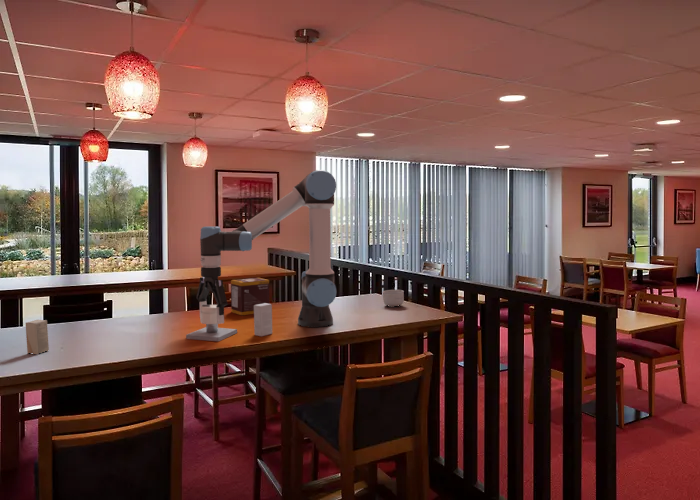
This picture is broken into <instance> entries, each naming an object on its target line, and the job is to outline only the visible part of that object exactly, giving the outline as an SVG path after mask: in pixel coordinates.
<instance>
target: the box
mask: <svg viewBox="0 0 700 500" xmlns="http://www.w3.org/2000/svg"><path fill="white" fill-rule="evenodd" d="M48 332H49V331H48V320H47V319H45V320H44V319H34V320H32V321H31V320H30V321H27V322H25V334H26V335H25V336H26V350H27V354H28V353H33V354H38V353H42V352H45V351H47V352H49V351H50V347H49V346H50V345H49V333H48ZM48 350H49V351H48ZM45 353H46V352H45ZM42 354H43V353H42Z"/></svg>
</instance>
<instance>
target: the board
mask: <svg viewBox="0 0 700 500" xmlns="http://www.w3.org/2000/svg"><path fill="white" fill-rule="evenodd" d="M237 333H238V329H237V328H225V327H218V332H217V333H206V326H205V327H203V328H199V329H198V330H194V331H191V332H189V333H187V334H185V339H187V340H196V341H197V340H198V341H209V342H211V341H212V342H220V341H222V340H224V339H227V338H229V337H231V336H233V335H236V334H237Z"/></svg>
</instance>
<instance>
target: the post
mask: <svg viewBox="0 0 700 500" xmlns="http://www.w3.org/2000/svg"><path fill="white" fill-rule="evenodd" d="M205 327H206V333H217V332H218V328H219V324H205Z"/></svg>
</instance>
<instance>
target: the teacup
mask: <svg viewBox="0 0 700 500" xmlns="http://www.w3.org/2000/svg"><path fill="white" fill-rule="evenodd" d="M404 292H405V291H404V290H402V289H387V290H383V291H382V300H383V304H384V305H385V306H386V305H389V306H398V305H401V306H402V305H403V304H404V301H405V300H404V299H405V298H404V297H405V294H404Z"/></svg>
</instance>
